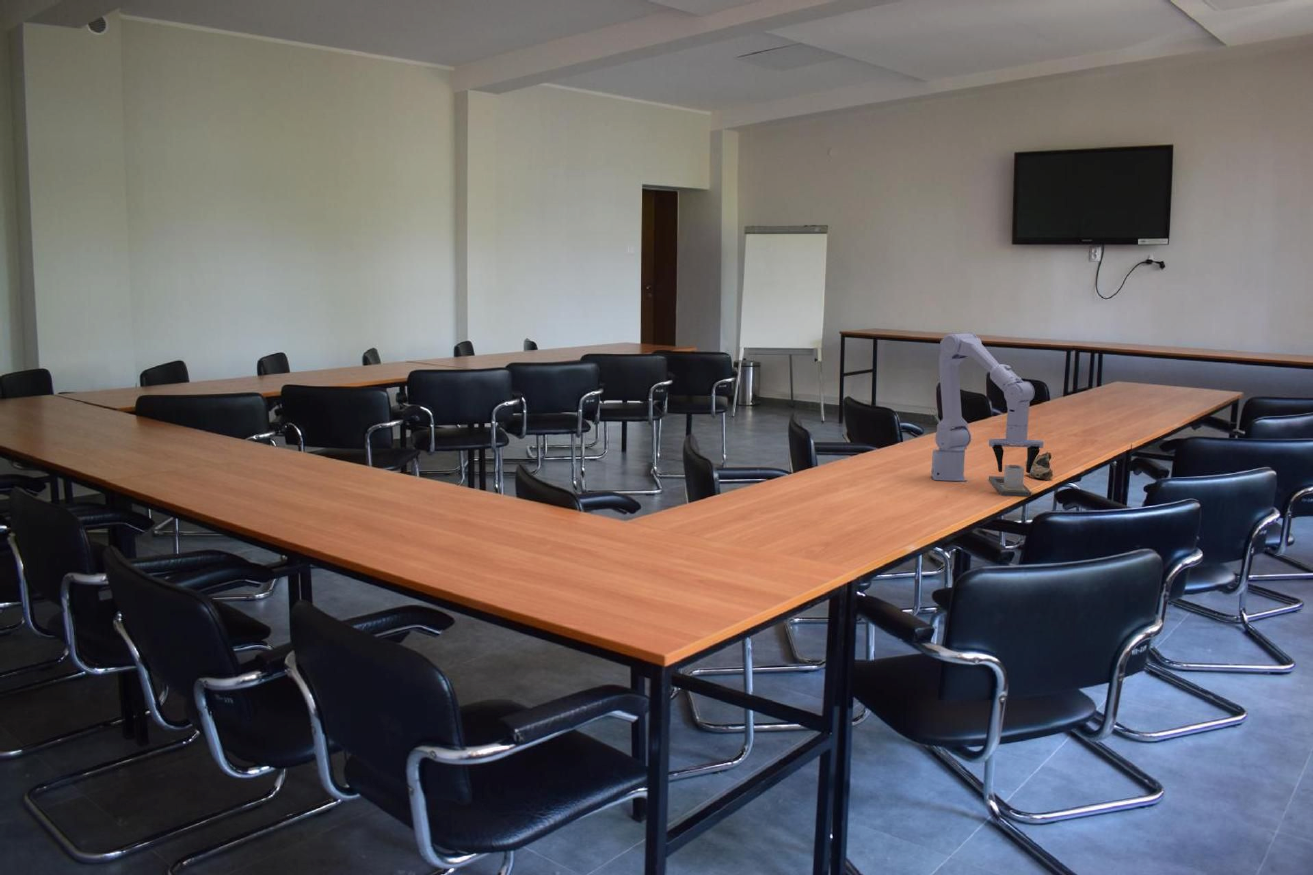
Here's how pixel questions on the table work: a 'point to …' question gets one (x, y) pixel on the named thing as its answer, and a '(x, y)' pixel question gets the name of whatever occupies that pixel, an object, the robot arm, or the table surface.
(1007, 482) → the grey upright block
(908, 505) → the table surface
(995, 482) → the rail plate
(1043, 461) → the rock
